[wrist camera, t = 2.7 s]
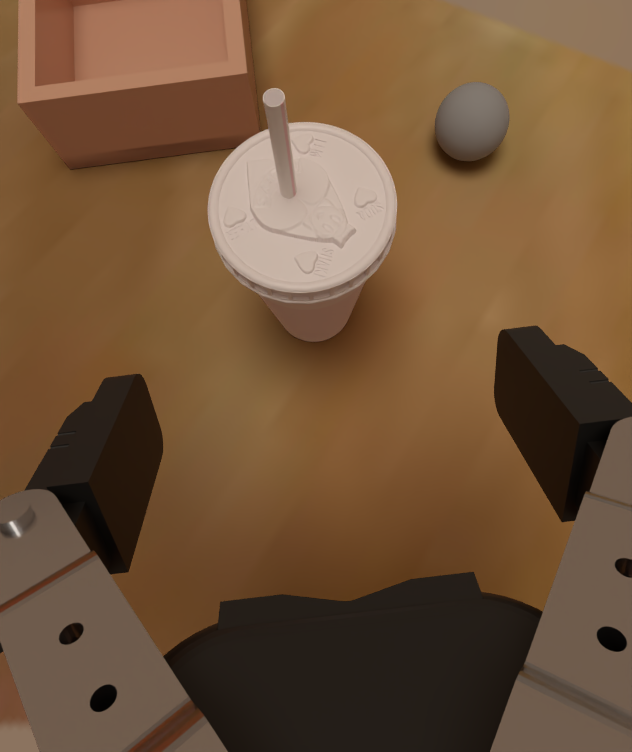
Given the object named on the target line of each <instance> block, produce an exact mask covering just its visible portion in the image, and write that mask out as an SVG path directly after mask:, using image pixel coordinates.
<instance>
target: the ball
mask: <svg viewBox="0 0 632 752" xmlns="http://www.w3.org/2000/svg"><path fill="white" fill-rule="evenodd" d="M508 125H509V109H508V105H507V102H506V100H505V98H504V97H503V95H502V94H501V93H500V92H499V91H498V90H497V89H496V88H494V87H493V86H491V85H489V84H486V83H481V82H472V83H467V84H464V85H461V86H459V87H457V88H456V89H454V90H453V91H452V92H450V93H449V94H448V95H447V96H446V98H445V99H444V100H443V102H442V103H441V105H440V107H439V109H438V112H437V115H436V119H435V134H436V138H437V141H438V143H439V145H440V146H441V148H442V149H443V151H444V152H445V153H447V154H448V155H449V156H451V157H452V158H454V159H457V160H460V161H475V160H479V159H482V158H484V157H486V156H488V155H489V154H491V153H492V152H493V151H494V150H495V149H496V148H497V147H498V146H499V145H500V144H501V142H502V141H503V139H504V137H505V135H506V132H507V129H508Z"/></svg>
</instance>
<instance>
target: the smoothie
mask: <svg viewBox="0 0 632 752" xmlns="http://www.w3.org/2000/svg"><path fill="white" fill-rule="evenodd" d="M263 102H264V107H265V113H266V118H267V123H268V129H267V130H264V131H262V132H260V133H258V134H256V135H254V136H252V137H251V138H249V139H247V140H246V141H245V142H243V143H242V144H241V145H239V146H238V147H237V148H236V149H235V150H234V151H233V152H232V153H231V154H230V155H229V156H228V157H227V159H226V160H225V161H224V163H223V164H222V165H221V167H220V169H219V170H218V172H217V174H216V176H215V178H214V181H213V183H212V186H211V190H210V194H209V200H208V220H209V226H210V230H211V233H212V236H213V239H214V242H215V247H216V249H217V251H218V253H219V255H220V257H221V259H222V261H223V263H224V265H225V267H226V268H227V269H228V270H229V271H230V272H231V273H232V274H233V275H234V276H235V278H236V279H237V280H238V281H239V282H240V283H241V284H242V285H244V286H246V287H247V288H249V289H251V290H252V291H254V292H256V293H257V294H258V295H259V296H260V297H261V298H262V300H263V301H264V302H265V304H266V305H267V306H268V307H269V309H270V310H271V311H272V312H273V314H274V315H275V316H276V318H277V319H278V320H279V321H280V323H281V324H282V325H283V327H284V328H285V329H286V330H287V331H288V332H289V333H290V334H291V335H293V336H294V337H296V338H298V339H301V340H304V341H309V342H319V341H324V340H327V339H329V338H331V337H333V336H335V335H336V334H338V333H339V332H340V331H341V330H342V329H343V328H344V326H345V325H346V323H347V321H348V319H349V317H350V315H351V312H352V310H353V308H354V306H355V303H356V301H357V299H358V297H359V295H360V292H361V290H362V288H363V286H364V284H365V281H366V280H367V279H368V278H369V277H370V276H372V275H373V274H374V273H375V272H376V271H377V270H378V268H379V266H380V265H381V263H382V262H383V260H384V259H385V257H386V256H387V254H388V253H389V251H390V247H391V244H392V241H393V238H394V234H395V231H396V213H397V197H396V190H395V186H394V182H393V179H392V177H391V174H390V172H389V170H388V168H387V166H386V165H385V163H384V162H383V160H382V159H381V157H380V156H379V155H378V154H377V153H376V151H375V150H374V149H373V148H372V147H370V146H369V145H368V144H367V143H366V142H364V141H363V140H362V139H360V138H359V137H357V136H355V135H354V134H352V133H350V132H348V131H346V130H343V129H341V128H338V127H335V126H331V125H327V124H322V123H314V122H297V123H288V118H287V111H286V103H285V96H284V93H283V92H282V91H281V90H280V89H277V88H272V89H269V90H267V91H266V92H265V93H264V95H263Z"/></svg>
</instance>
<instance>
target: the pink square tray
mask: <svg viewBox="0 0 632 752" xmlns="http://www.w3.org/2000/svg"><path fill="white" fill-rule="evenodd" d="M18 105H19V106H20V107H21V108H22V110H23V111H24V112H25V113H26V115H27V116H28V117H29V118H30V120H31V121H32V122H33V123H34V125H35V126H36V127H37V128H38V130H39V131H40V132H41V133H42V135H43V136H44V137H45V138H46V140H47V141H48V142H49V143H50V145H51V146H52V147H53V148H54V150H55V151H56V152H57V153H58V155H59V156H60V157H61V158H62V160H63V161H64V162H65V163H66V165H67V166H68V167H69V168H70V169H77V168H84V167H92V166H100V165H107V164H115V163H123V162H130V161H138V160H146V159H153V158H161V157H168V156H176V155H184V154H191V153H199V152H207V151H214V150H222V149H230V148H237V147H238V146H239V145H241V144H242V143H243V142H245V141H246V140H247V139H249V138H251V137H252V136H254V135H256V134H258V133H260V132H261V128H260V119H259V110H258V101H257V92H256V83H255V74H254V65H253V56H252V47H251V38H250V29H249V20H248V11H247V2H246V0H19V19H18Z"/></svg>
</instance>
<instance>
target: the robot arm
mask: <svg viewBox="0 0 632 752" xmlns="http://www.w3.org/2000/svg"><path fill="white" fill-rule="evenodd" d="M494 398H495V404H496V408H497V411H498V414H499V416H500V418H501V420H502V421H503V423H504V425H505V426H506V428H507V430H508V431H509V433H510V435H511V437H512V438H513V440H514V442H515V443H516V445H517V447H518V449H519V450H520V452H521V454H522V455H523V457H524V459H525V460H526V462H527V464H528V466H529V467H530V469H531V471H532V472H533V474H534V476H535V477H536V479H537V481H538V483H539V484H540V486H541V488H542V489H543V491H544V493H545V494H546V496H547V498H548V500H549V501H550V503H551V505H552V506H553V508H554V510H555V511H556V513H557V515H558V517H559V518H560V520H561V522H567V521H575V523H574V525H573V528H572V531H571V534H570V537H569V540H568V542H567V545H566V548H565V551H564V554H563V557H562V559H561V562H560V565H559V568H558V571H557V574H556V576H555V579H554V582H553V585H552V588H551V591H550V593H549V596H548V599H547V602H546V605H545V608H544V610H543V612H542V611H540V610H539V609H537V608H534V607H532V606H530V605H527V604H525V603H523V602H520V601H517V600H514V599H511V598H508V597H505V596H500V595H496V594H491V593H484V592H481V591H480V588H479V585H478V583H477V580H476V577H475V574H474V572H468V573H460V574H451V575H443V576H434V577H426V578H418V579H410V580H408V581H405V582H402V583H400V584H397V585H394V586H391V587H389V588H386V589H383V590H380V591H378V592H375V593H372V594H369V595H367V596H364V597H361V598H358V599H356V600H352V601H335V600H326V599H317V598H309V597H300V596H291V595H283V594H282V595H274V596H265V597H257V598H248V599H240V600H231V601H223V602H220V611H219V620H218V623H217V624H214V625H212V626H209V627H207V628H205V629H203V630H201V631H199V632H197V633H195V634H193V635H192V636H190V637H189V638H187V639H185V640H184V641H182V642H181V643H179V644H178V645H177V646H175V647H174V648H173V649H172V650H170V651H169V652H168V653H167V654H165V655H164V656H162V654H161V653H160V651H159V650H158V648H157V647H156V645H155V643H154V642H153V640H152V639H151V637H150V636H149V634H148V633H147V631H146V630H145V628H144V626H143V625H142V623H141V622H140V620H139V619H138V617H137V616H136V614H135V612H134V611H133V609H132V608H131V606H130V605H129V603H128V602H127V600H126V599H125V597H124V595H123V594H122V592H121V591H120V589H119V588H118V586H117V585H116V583H115V582H114V580H113V578H112V577H111V575H110V574H117V573H125V572H129V568H130V565H131V561H132V558H133V555H134V551H135V548H136V544H137V541H138V537H139V534H140V531H141V527H142V524H143V520H144V517H145V513H146V510H147V507H148V503H149V500H150V496H151V493H152V489H153V486H154V483H155V479H156V476H157V472H158V469H159V465H160V462H161V459H162V454H163V437H162V432H161V428H160V425H159V422H158V419H157V416H156V413H155V410H154V406H153V403H152V400H151V397H150V394H149V391H148V388H147V385H146V382H145V380H144V378H143V377H142V375H140V374H133V375H125V376H117V377H108V378H105V379H104V380H103V382H102V384H101V385H100V387H99V389H98V391H97V393H96V395H95V397H94V398H93V400H92V401H91V402H84V403H83V404H82V405H80V406H79V407H78V408H77V409H76V410H75V411H74V412H72V413H71V414H70V415H69V416H68V417H67V418H66V420H65V421H64V423H63V425H62V427H61V428H60V430H59V432H58V436H56V437H55V439H54V440H53V442H52V444H51V446H50V447H51V449H48V451H47V453H46V454H45V456H44V458H43V459H42V461H41V463H40V465H39V466H38V468H37V470H36V472H35V473H34V475H33V477H32V478H31V480H30V482H29V484H28V485H27V487H26V489H25V491H22V492H18V493H15V494H12V495H10V496H8V497H6V498H4V499H2V500H0V653H1V652H3V651H4V654H5V656H6V659H7V662H8V665H9V668H10V670H11V673H12V676H13V679H14V682H15V684H16V687H17V690H18V693H19V695H20V698H21V701H22V704H23V707H24V709H25V712H26V715H27V718H28V721H29V723H30V726H31V729H32V732H33V734H34V737H35V740H36V743H37V745H38V748H39V751H40V752H632V403H631V402H630V401H629V400H628V399H627V398H626V397H625V396H624V395H623V394H622V392H621V391H620V390H619V389H618V388H617V387H616V386H615V385H614V384H613V383H612V382H609V381H608V378H607V377H606V376H605V375H604V374H603V373H602V372H601V371H598V368H597V367H596V366H595V365H594V364H593V363H592V362H591V361H590V360H589V359H588V358H587V357H586V356H585V355H584V354H582V353H580V352H578V351H576V350H574V349H572V348H570V347H568V346H566V345H564V344H562V345H555V344H554V343H553V342H552V341H551V340H550V339H549V337H548V336H547V335H546V334H545V333H544V332H543V331H542V330H541V329H540V328H539V327H538V326H528V327H520V328H512V329H504V330H501V331H500V333H499V336H498V344H497V357H496V371H495V384H494Z"/></svg>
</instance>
